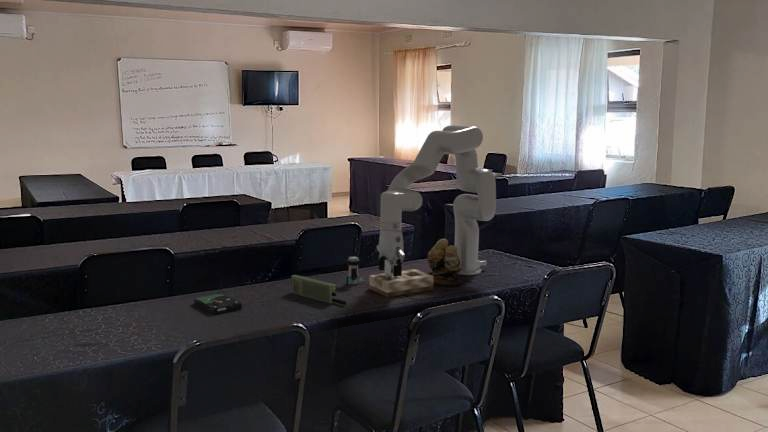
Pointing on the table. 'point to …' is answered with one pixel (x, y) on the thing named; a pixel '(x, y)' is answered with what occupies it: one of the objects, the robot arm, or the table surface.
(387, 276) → the pin
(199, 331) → the table surface
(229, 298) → the disk drive
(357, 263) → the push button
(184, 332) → the table surface
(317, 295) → the handheld radio
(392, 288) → the socket block
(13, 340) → the table surface
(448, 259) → the tan lumpy piece
